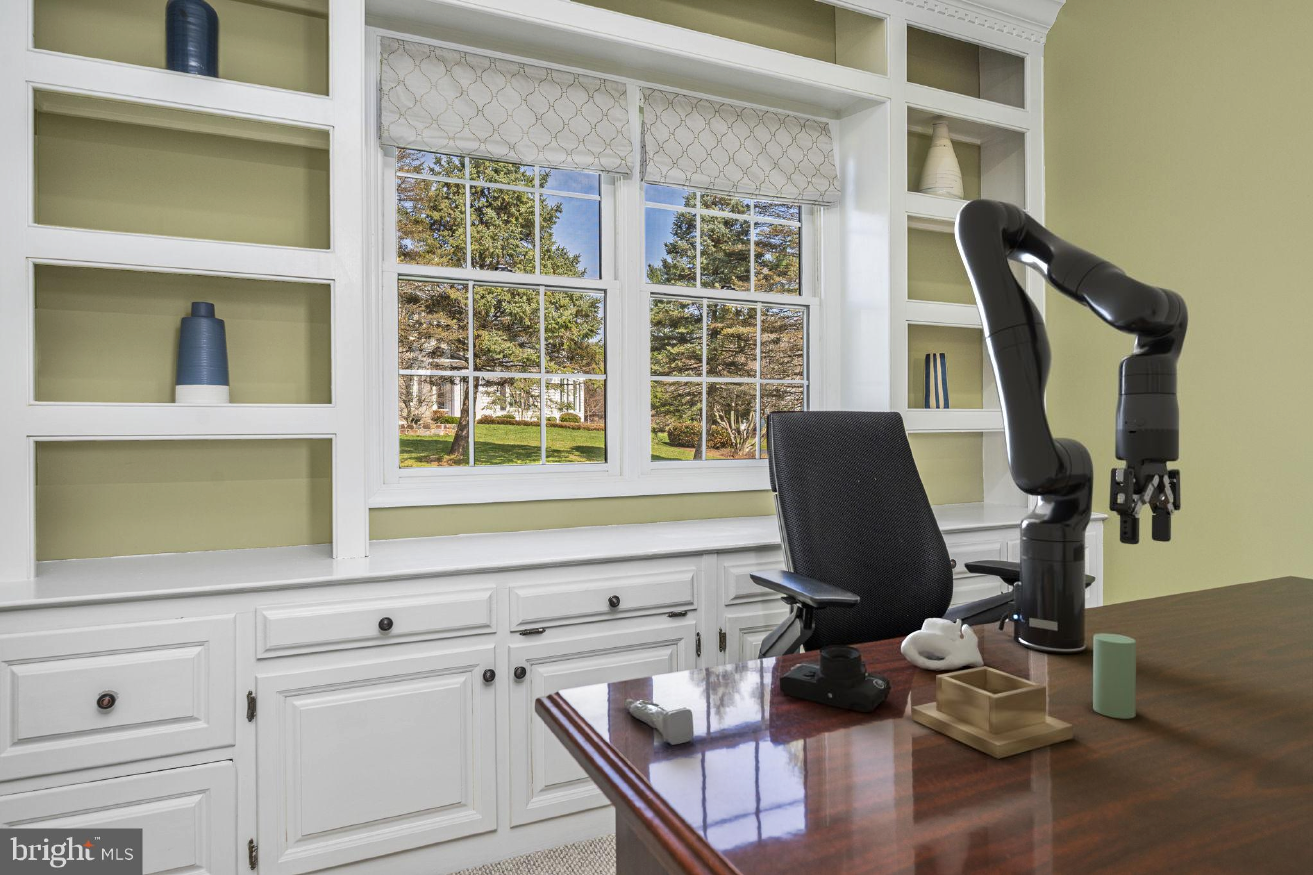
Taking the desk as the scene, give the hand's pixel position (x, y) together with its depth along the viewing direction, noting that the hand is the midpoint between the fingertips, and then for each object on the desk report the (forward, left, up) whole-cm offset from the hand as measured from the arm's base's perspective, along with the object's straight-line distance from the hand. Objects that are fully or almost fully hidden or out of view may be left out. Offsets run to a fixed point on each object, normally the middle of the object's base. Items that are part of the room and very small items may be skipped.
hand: (1145, 542), depth 105 cm
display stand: (+4, -36, -19) cm, 41 cm away
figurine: (-14, -70, -19) cm, 74 cm away
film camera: (-12, -45, -19) cm, 50 cm away
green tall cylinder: (+7, -18, -19) cm, 27 cm away
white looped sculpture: (-15, -22, -19) cm, 33 cm away
